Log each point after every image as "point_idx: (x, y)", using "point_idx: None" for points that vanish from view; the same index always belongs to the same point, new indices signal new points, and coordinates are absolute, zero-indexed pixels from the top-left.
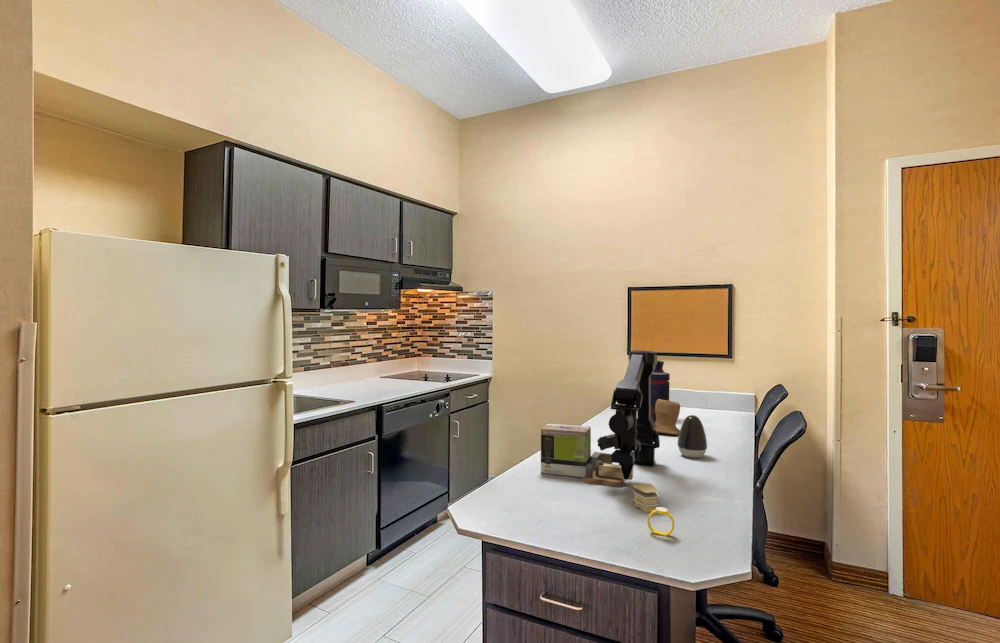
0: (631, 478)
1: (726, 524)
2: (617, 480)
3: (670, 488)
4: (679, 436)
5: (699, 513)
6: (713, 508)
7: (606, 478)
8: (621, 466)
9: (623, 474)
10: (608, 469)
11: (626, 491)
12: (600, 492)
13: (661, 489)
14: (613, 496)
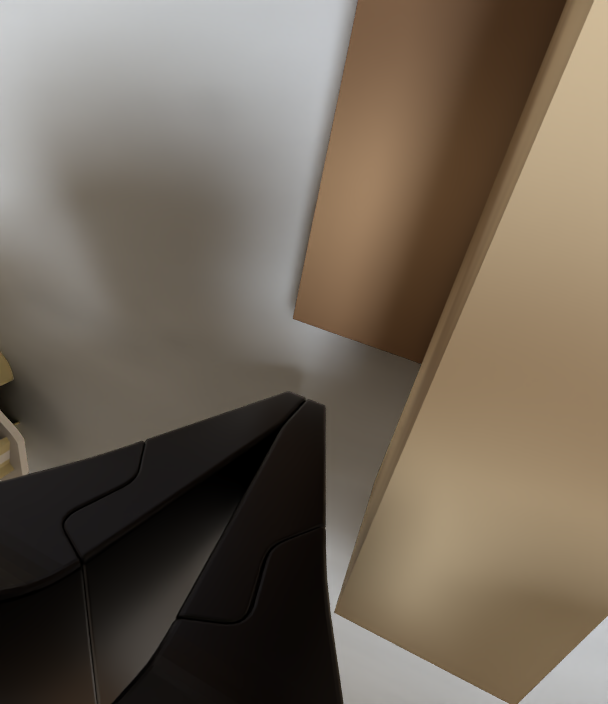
0: (371, 492)
1: None
2: (366, 296)
3: (372, 681)
4: None
5: None
6: None
7: (462, 99)
8: (63, 471)
9: (231, 416)
10: (527, 127)
11: (214, 343)
12: (89, 30)
13: (337, 620)
14: (51, 193)
